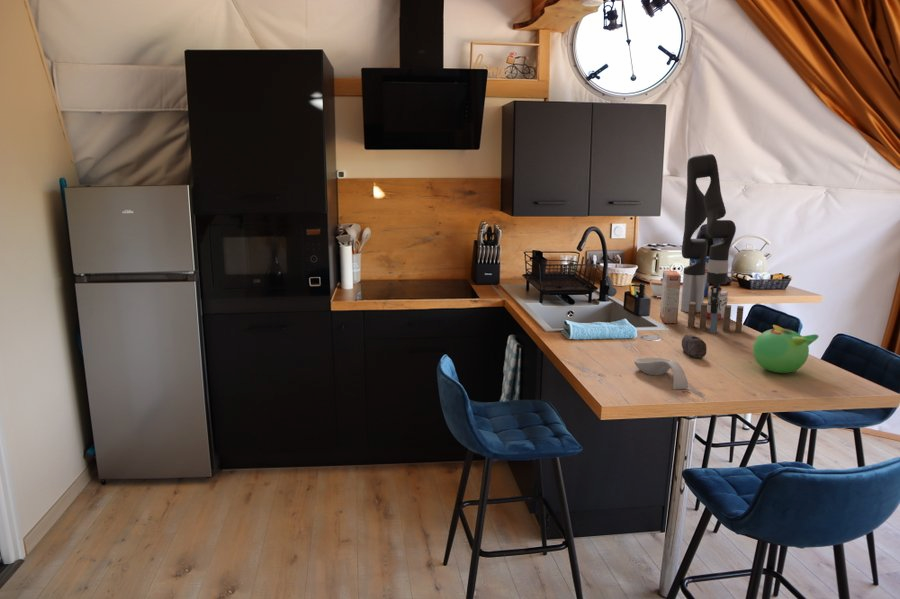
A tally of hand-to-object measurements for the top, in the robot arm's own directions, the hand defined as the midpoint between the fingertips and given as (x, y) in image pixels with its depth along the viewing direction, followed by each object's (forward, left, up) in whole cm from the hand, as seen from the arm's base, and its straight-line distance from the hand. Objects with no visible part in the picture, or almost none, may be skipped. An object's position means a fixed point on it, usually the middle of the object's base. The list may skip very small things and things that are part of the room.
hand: (714, 311), depth 260 cm
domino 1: (-2, -10, -9) cm, 14 cm away
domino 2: (-3, -6, -9) cm, 11 cm away
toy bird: (+32, +41, -9) cm, 53 cm away
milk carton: (-68, -46, -9) cm, 83 cm away
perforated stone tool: (+36, +12, -9) cm, 39 cm away
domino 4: (-7, +2, -9) cm, 11 cm away
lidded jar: (-50, -56, -9) cm, 76 cm away
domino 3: (0, 0, -9) cm, 9 cm away
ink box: (-25, -12, -9) cm, 30 cm away
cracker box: (-5, -23, -9) cm, 25 cm away
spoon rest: (+67, +20, -9) cm, 71 cm away
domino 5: (-9, +6, -9) cm, 14 cm away
